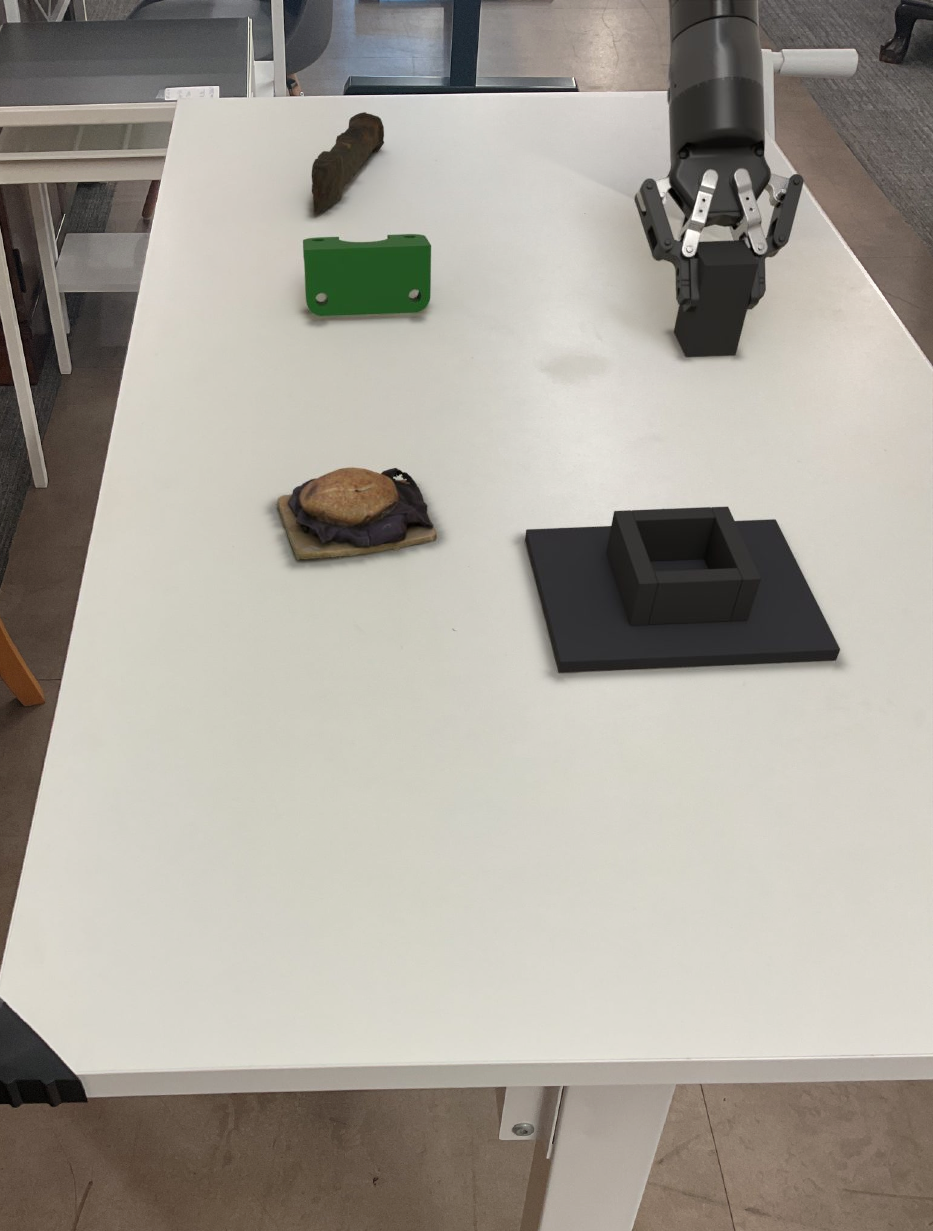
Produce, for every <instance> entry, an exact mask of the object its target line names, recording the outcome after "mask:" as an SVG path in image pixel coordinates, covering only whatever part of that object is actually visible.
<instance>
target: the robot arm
mask: <svg viewBox="0 0 933 1231" xmlns="http://www.w3.org/2000/svg"><path fill="white" fill-rule="evenodd" d="M667 2H668V17H669V19H668V20H669V62H668V64H669V65H668V74H667V92H666V102H667V105H668V119H669V120H668V124H669V128H668V129H669V160H670V168H669V172H668V173H667V175H666V177H663V178H661V179H657V180H655V179H653V178H645V180H643V182H642V183H641V185H640V187H639V189H638V190H637V192H636V193H635V195H634V198H633V199H634V204H635V207H636V209H637V212H638V215H639V216H638V217H639V219H640V222H641V225H642V228H643V231H644V235H645V238H646V240H647V244H648V247H649V250H650V253H651V257H652V258H653V260H655V261H657V262H659V261H661V262H662V261H666V262H669V263H671V264H672V265H673V267H674V270H675V271H674V273H675V300H676V302H677V304H678V306H679V305H683V310H684V312H690V311H693V310H694V309H695V308H696V307H697V306H698V305H699V301H700V294H699V276H698V258H695V253H696V250H697V247H698V243H699V242H700V239H701V236H702V232H703V230H704V228H709V227H712V226H719V227H724V228H726V227H727V228H729V232H730V234H731V237H732V240H744V241H745V243H746V244H747V246H748V248H749V249H750V251H751V252H752V254H753V255H754V257H755V259H756V260H757V262H758V268H757V272H756V276H755V280H754V284H753V288H752V292H751V296H750V300H749V304H748V308H747V311H748V310H749V311H750V310H753V309H754V308H756V306H757V305H758V304H759V302H760V300H761V299H763V298H764V296H765V293H766V292H767V287H766V285H767V284H766V283H767V282H766V281H767V280H766V259H767V258H773V257H775V256H776V255H777V254H778V253H779V252H780V251H781V249H782V248H784V247H785V246H787V244H788V243H789V240H790V237H791V232H792V230H793V225H794V221H795V217H796V213H797V209H798V206H799V201H800V198H801V194H802V190H803V186H804V183H805V182H804V177H803V176H802V175H801V174H799V173H795V174H792V175H791V176H790V177H789V178H788V177H786V176H783V175H778V174H775V173H772V170H771V168H770V165H769V164H768V162H767V160H766V156H765V150H766V149H765V148H766V132H765V130H766V128H765V125H766V124H765V91H764V89H765V88H764V61H763V51H762V46H761V40H760V39H761V38H760V23H759V22H760V21H759V0H667ZM764 191H767V193H768V195H769V197H768V201H769V205H770V206H771V207H773V210H772V213H771V214H772V215H771V218H770V222H769V225H768V229H767V234H766V236H765V233H764V231H763V227H762V221H763V219H762V218H763V217H762V214H761V211H760V209H759V205H758V203H757V201H758V200H759V198H760V197H761V195H762V194H763V192H764ZM667 194H668V195H669V196H670V198H671V199H672V200H673V201H674V203H675V205H677V207H678V208H679V209H680V211H681V213H683V218H682V220H681V224H680V229H679V232H678V235H677V239H675V237H674V234H673V231H672V228H671V225H670V222H669V218H668V215H667V212H666V209H665V205H666V204H667V202H668V196H667Z"/></svg>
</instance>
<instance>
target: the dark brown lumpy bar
mask: <svg viewBox="0 0 933 1231" xmlns="http://www.w3.org/2000/svg"><path fill="white" fill-rule="evenodd" d="M384 138H385V127H384V124H383V121H382V118H380V116H378V115H374V114H372V113H368V112H365V111H363V112H359V113H357V114H355V115H353V116H351V117H350V119H349V120H348V128H347V129H346V130H345V131H344V132H341V133H340V134H338V135H336V138H335V143H334V145H333V147H331V149H330V150H329V151H327V150H323V151H321V153H320V154H318V155H317V158H314V161H313V163H312V166H311V167H312V168H311V183H312V184H311V194H312V202H313V204H312V206H313V213H314V214H316V215H317V214H319V213H322V212H324V211H326V210H327V209H330V207H331V206H333V205H334V204H335V203H337V202H338V201H339V200H341V199H342V196H343V190H344V187H345V186H346V184H347V183H348V182H349V181H350V180H351V179H352V177H354V176H355V175H356V173H357V172H358V170H359V168H360V167H361V166H362V165H363V164H364V163H365V162H366V160H367V159H369V156H370V155H371V154H372V153H378V152H380V150H381V148H382V147H383V145H384V144H385V141H384Z"/></svg>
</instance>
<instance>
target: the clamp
mask: <svg viewBox="0 0 933 1231" xmlns="http://www.w3.org/2000/svg"><path fill="white" fill-rule="evenodd" d="M386 237H387V238H386V239H382V240H373V241H348V240H342V239H340V236H322V237H321V236H320V237H318V236H317V237H309V238H304V239H302V253H303V254H302V256H303V265H304V266H303V268H304V269H303V270H304V292H305V302H306V303H305V304H306V306H307V309H308V310H309V311H310V313H311V314H313V315H314V316H317V317H339V316H340V317H343V316H367V315H370V316H371V315H392V314H393V315H394V314H416V313H420V312H422V311H424V310H425V309H427V307H428V305H429V304H430V301H431V293H432V292H431V290H432V289H431V286H432V244H431V243H430V241H429V239H428V238H427V237H426V235H425V234H419V233H401V234H399V233H398V234H387V236H386ZM412 291H417V295H416V296H414V297H410V293H411V292H412ZM320 294H324V295H325V296H326V298H325V299H324V300H322V301H321V300H318V299H317V297H318V296H319V295H320Z"/></svg>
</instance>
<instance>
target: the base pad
mask: <svg viewBox="0 0 933 1231" xmlns="http://www.w3.org/2000/svg"><path fill="white" fill-rule="evenodd" d="M524 543H525V546H526V551H527V555H528V558H529V562H530V567H531V569H532V574H533V577H534V581H535V585H536V590H537V593H538V597H539V601H540V605H541V609H542V613H543V617H544V621H545V625H546V628H547V632H548V636H549V637H548V638H549V641H550V644H551V648H552V652H553V656H554V660H555V665H556V667H557V672H558V673H559V674H562V673H563V674H565V673H588V672H589V673H590V672H610V671H611V672H612V671H614V672H615V671H633V670H635V671H636V670H654V669H658V670H659V669H678V668H680V669H681V668H701V667H703V668H704V667H723V666H748V665H768V664H769V665H770V664H772V665H773V664H791V663H793V664H794V663H812V662H813V663H815V662H816V663H817V662H833V661H834V662H835V661H837V660H838V656H839V654H840V652H841V647H840V646H839V643H838V641H837V640H836V638H835V636H834V634H833V632H832V629H831V628H830V625H829V623H828V622H827V620H826V617H825V615H824V613H823V612H822V609H821V608H820V607H821V606H820V605H819V603H818V601H817V599H816V598H815V595H814V594H813V591H812V589H811V587H810V585H809V583H808V581H807V579H806V577H805V575H804V573H803V571H802V569H801V568H800V565H799V563H798V562H797V559H796V557H795V556H794V554H793V551H792V549H791V547H790V545H789V543H788V541H787V539H786V537H785V535H784V533H783V531H782V529H781V527H780V525H779V523H778V521H777V519H775V518H774V519H773V518H770V519H747V520H745V519H744V520H735V518H734V516H733V514H732V512H731V510H730V507H729V506H712V507H711V506H703V507H702V506H700V507H680V508H679V507H678V508H677V507H676V508H675V507H674V508H655V509H653V508H652V509H651V508H650V509H627V510H613V514H612V520H611V525H602V526H601V525H600V526H575V527H552V528H551V527H550V528H527V529H526V530H525V537H524Z"/></svg>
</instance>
